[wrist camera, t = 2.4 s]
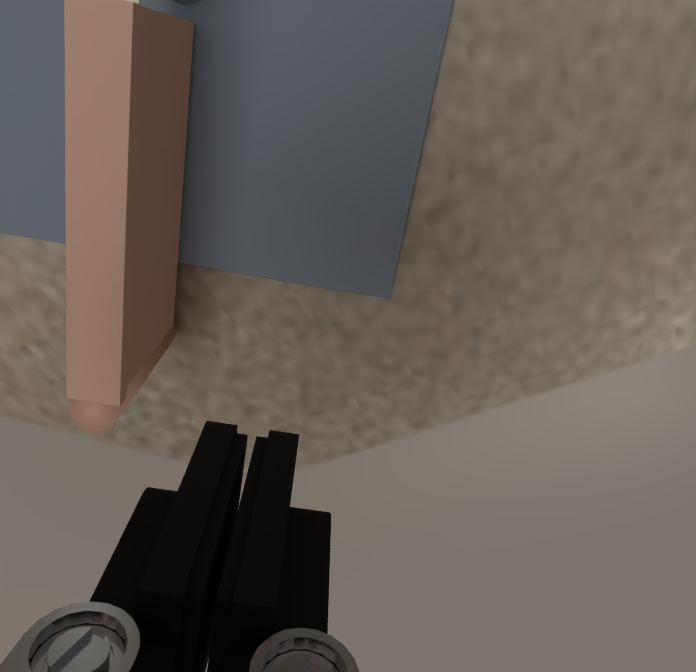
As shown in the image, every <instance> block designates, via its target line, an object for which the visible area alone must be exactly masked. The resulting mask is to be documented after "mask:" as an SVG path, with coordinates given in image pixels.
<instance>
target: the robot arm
mask: <svg viewBox="0 0 696 672" xmlns="http://www.w3.org/2000/svg"><path fill="white" fill-rule="evenodd" d="M298 439H299V434H293V433H286V432H279V431H273V430H270V431H269V436H268V438H265V437H258V436H257V437H256V441H255V445H254V449H253V453H252V457H251V461H250V465H249V469H248V473H247V477H246V481H245V485H244V489H243V493H242V497H241V501H240V505H239V499H240V492H241V484H242V476H243V469H244V461H245V453H246V446H247V435H245V434H238V433H237V425H232V424H225V423H218V422H211V421H206V423H205V426H204V428H203V431H202V433H201V435H200V438H199V440H198V443H197V445H196V448H195V450H194V453H193V455H192V457H191V460H190V462H189V465H188V467H187V470H186V472H185V475H184V477H183V479H182V482H181V485H180V487H179V489H178V491H171V490H163V489H157V488H150V487H148V488H146V489H145V491H144V492H143V494H142V496H141V498H140V500H139V502H138V504H137V506H136V508H135V510H134V512H133V514H132V516H131V518H130V520H129V522H128V524H127V526H126V528H125V531H124V532H123V535H122V536H121V538H120V541H119V543H118V545H117V547H116V549H115V551H114V553H113V555H112V557H111V559H110V561H109V563H108V565H107V567H106V569H105V571H104V573H103V575H102V577H101V579H100V581H99V583H98V585H97V587H96V589H95V591H94V593H93V595H92V597H91V599H90V601H89V602H84V603H76V604H75V603H74V604H71V605H68V606H65V607H62V608H59V609H56V610H54V611H52V612H51V613H49V614H47V615H46V616H44V617H42V618H41V619H39V620H38V621H37V622H36V623H35V624H34V625H33V626H32V627H31V628H30V629H29V630H28V631H27V632H26V633H25V634H24V635H23V636H22V638H21V639H20V640H19V641H18V643H17V644H16V645H15V646H14V648H13V649H12V650H11V652H10V653H9V654H8V655H7V657H6V658H5V659H4V660H3V662H2V663H1V664H0V672H205V671H206V666H207V662H208V669H207V672H359V670H358V667H357V664H356V661H355V659H354V657H353V656H352V655H351V653H350V652H349V651H348V649H347V648H346V647H345V646H344V645H343V644H342V643H340V642H339V641H338V640H336V639H335V638H334V637H333V636H331V635H328V634H327V631H328V630H327V629H328V597H329V567H330V566H329V565H330V536H331V513H330V512H323V511H315V510H308V509H301V508H294V507H290V501H291V492H292V485H293V477H294V470H295V462H296V455H297V447H298ZM238 507H239V509H238ZM208 658H209V661H208Z"/></svg>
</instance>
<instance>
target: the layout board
mask: <svg viewBox="0 0 696 672" xmlns="http://www.w3.org/2000/svg"><path fill="white" fill-rule="evenodd" d="M125 1H130V2H134V3H137V4H140V5H141V6H143V7H147V8H150V9H153V10H156V11H159V12H162V13H165V14H168V15H172V16H175V17H178V18H181V19H184V20H187V21H190V22H193V23H194V30H193V45H192V60H191V74H190V89H189V104H188V118H187V133H186V148H185V162H184V177H183V192H182V207H181V221H180V236H179V251H178V263H182V264H188V265H194V266H200V267H206V268H211V269H217V270H223V271H229V272H235V273H241V274H247V275H252V276H258V277H264V278H270V279H276V280H282V281H288V282H293V283H299V284H305V285H311V286H317V287H323V288H329V289H334V290H340V291H346V292H352V293H358V294H364V295H370V296H375V297H381V298H387V299H390V295H391V290H392V286H393V281H394V276H395V272H396V267H397V262H398V258H399V253H400V248H401V243H402V239H403V234H404V229H405V225H406V220H407V215H408V211H409V206H410V201H411V196H412V192H413V187H414V182H415V178H416V173H417V168H418V163H419V159H420V154H421V149H422V145H423V140H424V135H425V131H426V126H427V121H428V116H429V112H430V107H431V102H432V98H433V93H434V88H435V84H436V79H437V74H438V69H439V65H440V60H441V55H442V51H443V46H444V41H445V37H446V32H447V27H448V22H449V18H450V13H451V8H452V4H453V0H125ZM0 233H6V234H12V235H18V236H24V237H30V238H36V239H41V240H47V241H53V242H59V243H65V244H66V196H65V15H64V0H0Z"/></svg>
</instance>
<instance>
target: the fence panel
mask: <svg viewBox="0 0 696 672" xmlns="http://www.w3.org/2000/svg"><path fill="white" fill-rule="evenodd" d="M64 15H65V196H66V376H67V398H70V399H74V400H73V401H72V403H71V406H70V414H71V417H72V419H73V421H74V422H75V423H76V425H78V426H79V427H80V428H81V429H83V430H85V431H87V432H91V433H103V432H106V431H108V430H109V429H111V428H112V427H113V425H114V424H115V423H116V421H117V420H118V418H119V417H120V415H121V414H122V413H123V411H124V410H125V408H126V407H127V405H128V404H129V403H130V401H131V400H132V398H133V397H134V395H135V394H136V393H137V391H138V390H139V388H140V387H141V385H142V384H143V383H144V381H145V380H146V378H147V377H148V375H149V374H150V373H151V371H152V370H153V368H154V367H155V366H156V364H157V363H158V361H159V360H160V358H161V357H162V356H163V354H164V353H165V351H166V350H167V348H168V347H169V346H170V344H171V343H172V341H173V340H174V338H175V328H174V325H173V324H174V309H175V295H176V280H177V265H178V251H179V236H180V221H181V207H182V192H183V177H184V162H185V148H186V133H187V118H188V104H189V89H190V74H191V60H192V45H193V30H194V23H193V22H190V21H187V20H184V19H181V18H178V17H175V16H172V15H168V14H165V13H162V12H159V11H156V10H153V9H150V8H147V7H143V6H141V5H140V4H137V3H134V2H130V1H125V0H64Z"/></svg>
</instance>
